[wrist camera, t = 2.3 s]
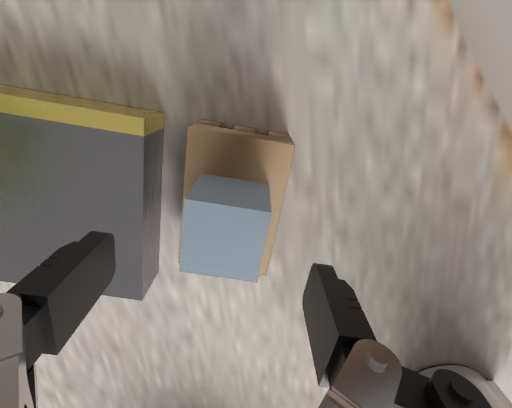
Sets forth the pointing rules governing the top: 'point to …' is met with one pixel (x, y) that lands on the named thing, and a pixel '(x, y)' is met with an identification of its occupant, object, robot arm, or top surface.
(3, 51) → the top surface
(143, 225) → the dock
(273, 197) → the pallet
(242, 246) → the blue-grey cube
